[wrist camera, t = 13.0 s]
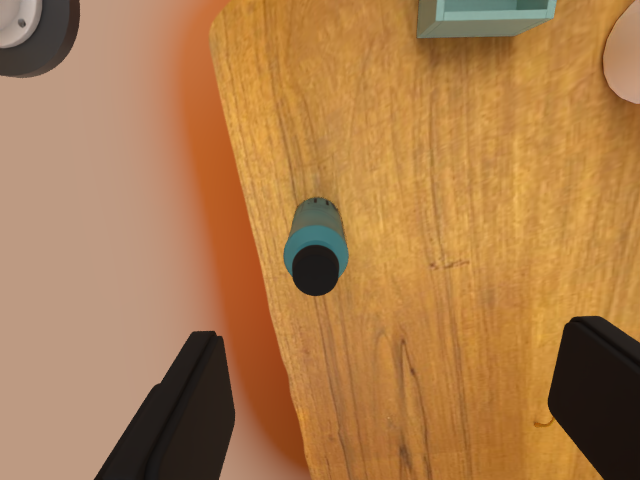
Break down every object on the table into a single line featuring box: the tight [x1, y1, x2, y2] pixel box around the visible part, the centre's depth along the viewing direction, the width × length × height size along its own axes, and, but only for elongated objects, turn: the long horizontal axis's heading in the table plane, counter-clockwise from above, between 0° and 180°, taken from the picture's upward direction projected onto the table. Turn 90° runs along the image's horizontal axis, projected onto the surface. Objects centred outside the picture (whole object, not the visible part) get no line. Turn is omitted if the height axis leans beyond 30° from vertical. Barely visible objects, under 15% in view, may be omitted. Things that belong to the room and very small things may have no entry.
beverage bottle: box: [284, 197, 349, 296], centre depth 37 cm, size 6×7×20 cm
